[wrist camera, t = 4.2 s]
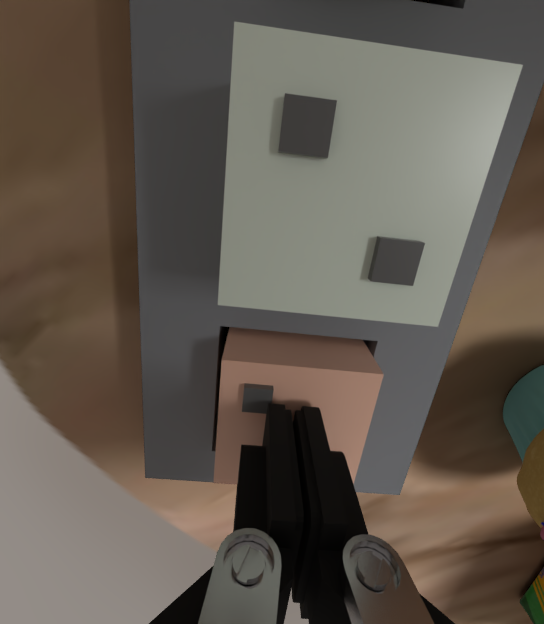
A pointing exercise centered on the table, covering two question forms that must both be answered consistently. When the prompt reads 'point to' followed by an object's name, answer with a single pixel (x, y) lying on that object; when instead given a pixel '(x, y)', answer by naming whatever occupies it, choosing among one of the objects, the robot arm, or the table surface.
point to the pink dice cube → (293, 391)
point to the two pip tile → (353, 173)
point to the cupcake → (529, 439)
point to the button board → (210, 200)
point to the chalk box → (535, 600)
